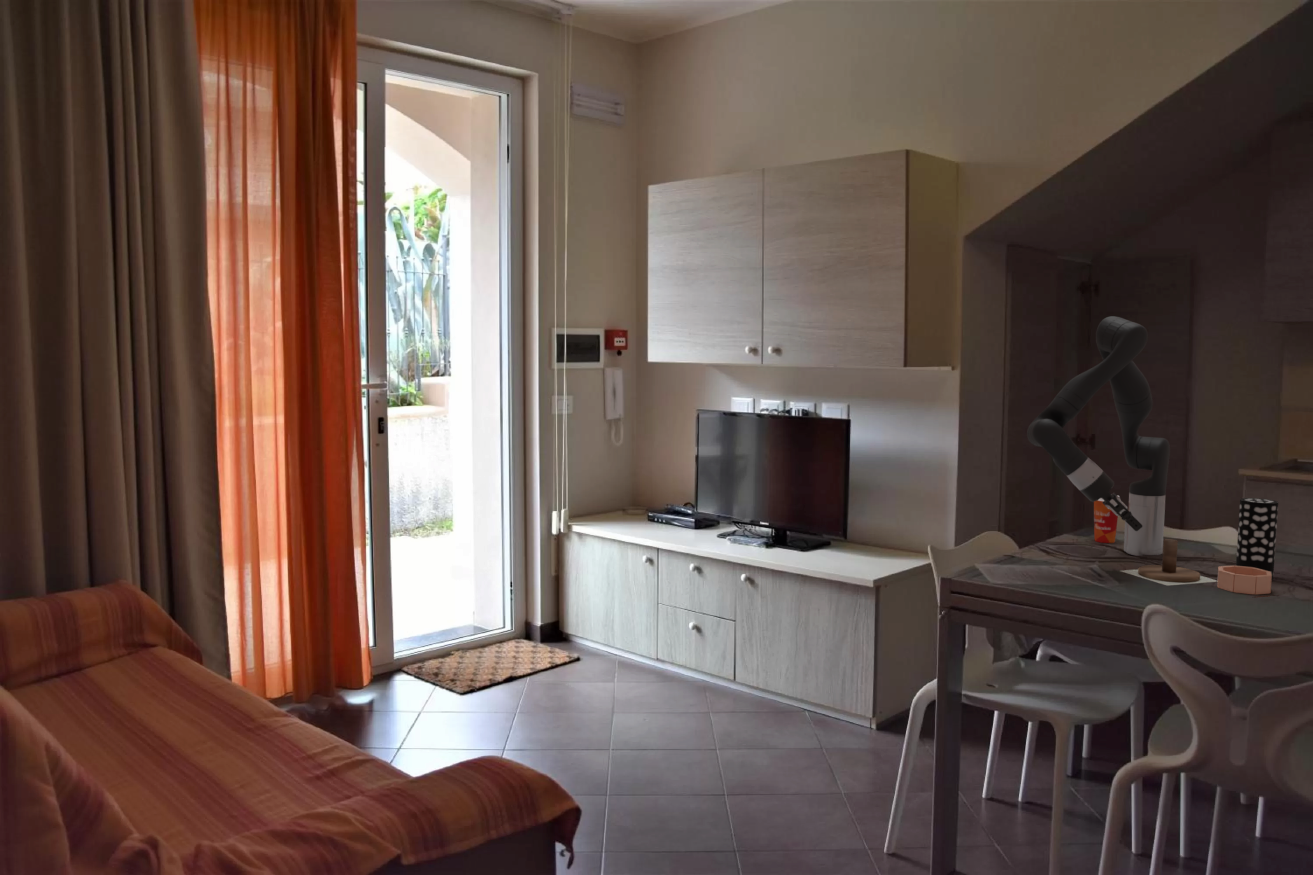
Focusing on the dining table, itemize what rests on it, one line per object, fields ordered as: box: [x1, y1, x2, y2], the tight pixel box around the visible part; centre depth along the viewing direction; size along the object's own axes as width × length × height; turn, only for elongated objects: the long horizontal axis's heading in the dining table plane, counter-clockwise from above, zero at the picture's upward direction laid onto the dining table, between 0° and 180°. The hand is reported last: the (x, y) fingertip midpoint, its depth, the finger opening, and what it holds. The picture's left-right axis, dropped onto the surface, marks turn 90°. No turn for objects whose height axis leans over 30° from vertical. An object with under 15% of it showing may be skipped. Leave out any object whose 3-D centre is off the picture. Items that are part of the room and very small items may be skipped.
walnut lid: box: [1137, 538, 1201, 583], centre depth 253 cm, size 14×14×9 cm
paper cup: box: [1093, 494, 1121, 544], centre depth 300 cm, size 8×8×14 cm
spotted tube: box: [1235, 497, 1279, 581], centre depth 254 cm, size 8×8×20 cm
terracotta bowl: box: [1216, 565, 1273, 599], centre depth 241 cm, size 11×11×5 cm
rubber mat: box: [1120, 568, 1218, 587], centre depth 254 cm, size 16×16×1 cm
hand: (1136, 525), depth 254 cm, fingers open, 8 cm apart
